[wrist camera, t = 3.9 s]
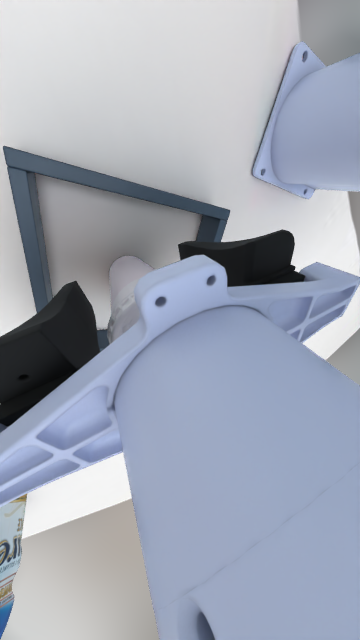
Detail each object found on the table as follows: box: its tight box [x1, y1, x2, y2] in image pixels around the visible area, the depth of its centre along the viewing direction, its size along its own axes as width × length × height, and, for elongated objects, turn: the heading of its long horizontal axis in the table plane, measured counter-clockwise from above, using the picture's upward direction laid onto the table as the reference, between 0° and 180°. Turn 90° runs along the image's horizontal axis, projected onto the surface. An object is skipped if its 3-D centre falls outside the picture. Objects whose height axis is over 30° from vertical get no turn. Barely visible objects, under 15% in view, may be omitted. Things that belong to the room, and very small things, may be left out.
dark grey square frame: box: [3, 146, 230, 352], centre depth 17 cm, size 15×15×3 cm
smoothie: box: [107, 256, 155, 344], centre depth 13 cm, size 6×6×14 cm
